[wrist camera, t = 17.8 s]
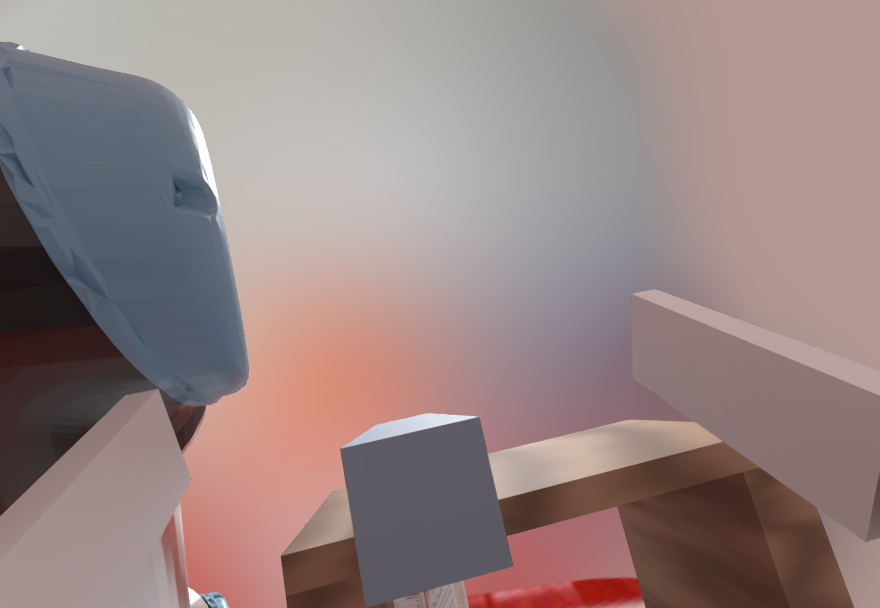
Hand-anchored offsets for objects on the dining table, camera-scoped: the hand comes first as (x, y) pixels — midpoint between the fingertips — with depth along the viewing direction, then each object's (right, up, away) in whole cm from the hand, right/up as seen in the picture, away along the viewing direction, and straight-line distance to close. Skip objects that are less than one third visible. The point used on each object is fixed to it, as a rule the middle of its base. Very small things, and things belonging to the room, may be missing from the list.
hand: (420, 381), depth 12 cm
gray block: (0, -8, +10) cm, 13 cm away
